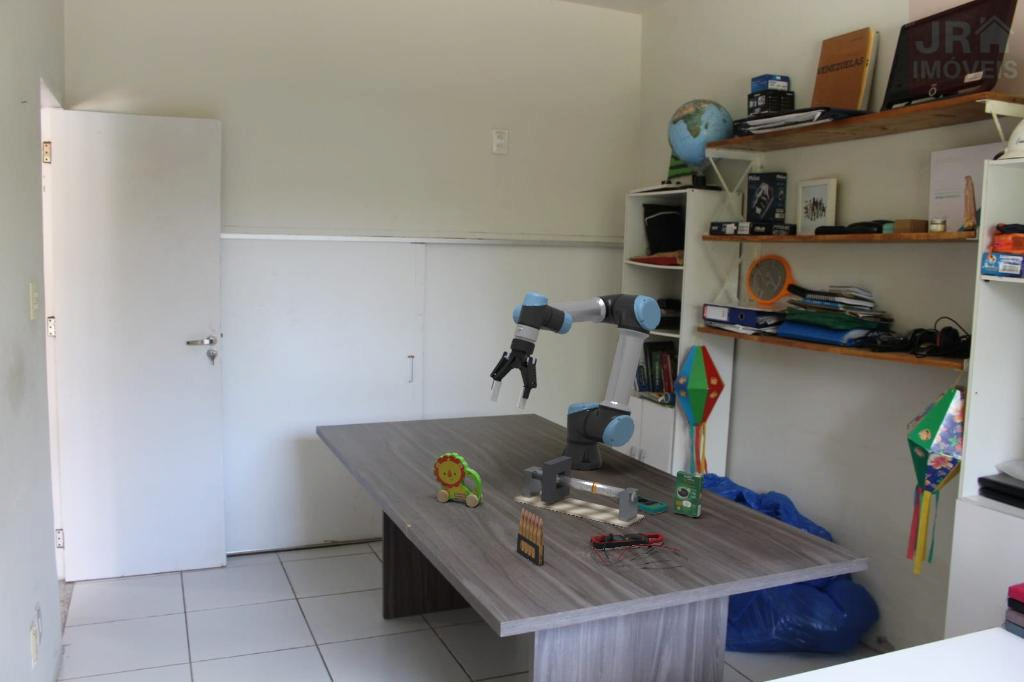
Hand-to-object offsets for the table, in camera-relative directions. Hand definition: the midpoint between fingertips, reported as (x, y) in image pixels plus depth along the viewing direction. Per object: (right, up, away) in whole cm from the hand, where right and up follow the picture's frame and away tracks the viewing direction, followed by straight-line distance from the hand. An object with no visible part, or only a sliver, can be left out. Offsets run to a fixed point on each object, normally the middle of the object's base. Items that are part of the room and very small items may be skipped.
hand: (506, 404), depth 269 cm
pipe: (+22, -31, -10) cm, 39 cm away
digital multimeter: (+43, -32, -5) cm, 54 cm away
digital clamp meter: (+34, -37, -46) cm, 68 cm away
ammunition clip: (+6, -36, -51) cm, 63 cm away
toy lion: (-15, -30, -7) cm, 34 cm away
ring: (+15, -29, -6) cm, 33 cm away
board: (+22, -31, -10) cm, 39 cm away
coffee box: (+55, -33, -11) cm, 65 cm away
